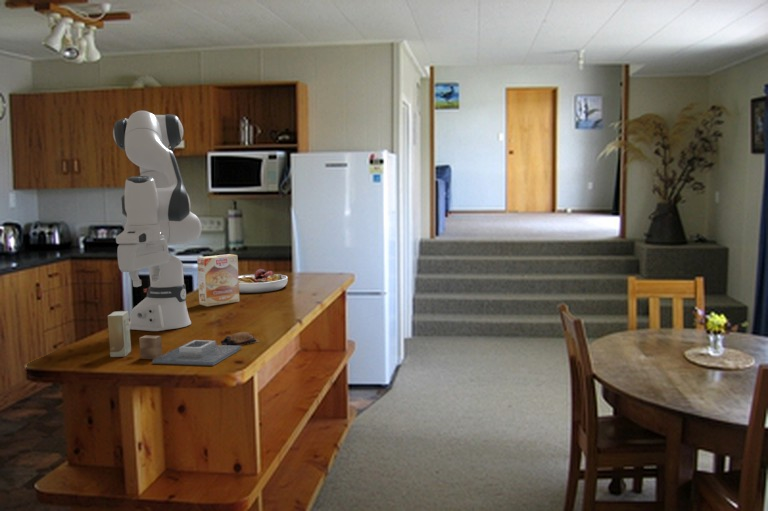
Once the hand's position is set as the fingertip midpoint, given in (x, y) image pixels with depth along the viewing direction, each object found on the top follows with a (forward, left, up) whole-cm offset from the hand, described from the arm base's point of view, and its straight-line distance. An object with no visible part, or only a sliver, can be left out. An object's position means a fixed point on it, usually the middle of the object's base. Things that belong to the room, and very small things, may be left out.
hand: (146, 283), depth 188 cm
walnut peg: (0, 0, -21) cm, 21 cm away
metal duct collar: (+13, +3, -21) cm, 25 cm away
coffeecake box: (-19, +83, -21) cm, 88 cm away
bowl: (-19, +120, -22) cm, 123 cm away
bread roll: (+18, +20, -22) cm, 35 cm away
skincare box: (-11, +2, -21) cm, 24 cm away
